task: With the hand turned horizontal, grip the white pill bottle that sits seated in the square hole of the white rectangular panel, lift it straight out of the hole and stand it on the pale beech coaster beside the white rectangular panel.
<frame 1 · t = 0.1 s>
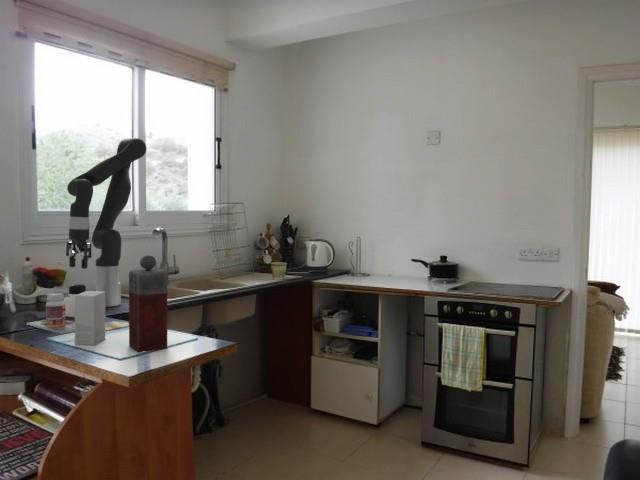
hand: (78, 267, 213), 17 cm above the table, tool pointing down, fingers open, 8 cm apart
ceramic cup: (279, 279, 323), on the table
skincare box: (90, 342, 163), on the table
pill bottle: (56, 326, 184), resting in white rectangular panel
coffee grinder: (146, 346, 159), on the table
medicine bottle: (77, 316, 203), on the table
coaster: (111, 326, 185), on the table
white rectangular panel: (56, 325, 184), on the table
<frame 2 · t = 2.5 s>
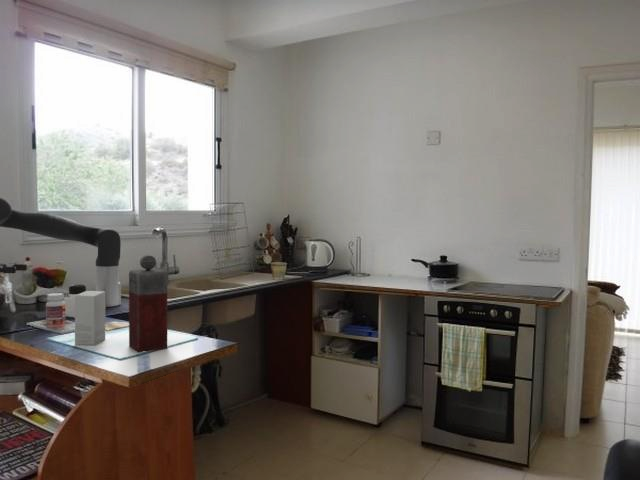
hand: (21, 268, 182), 20 cm above the table, tool horizontal, fingers open, 8 cm apart
nothing on the table moved.
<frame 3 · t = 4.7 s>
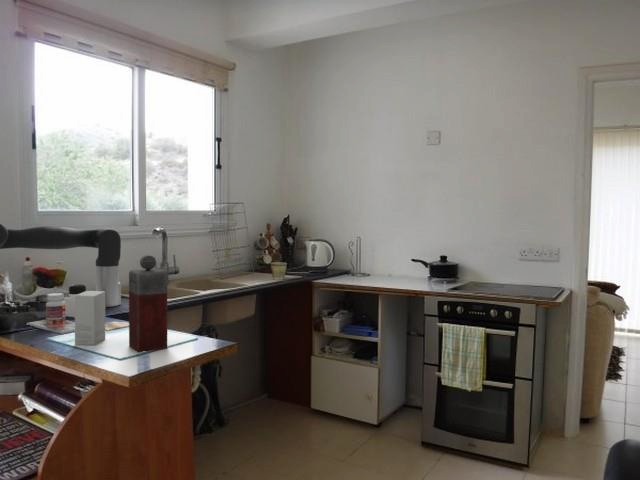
hand: (34, 306, 183), 7 cm above the table, tool horizontal, fingers open, 8 cm apart
nothing on the table moved.
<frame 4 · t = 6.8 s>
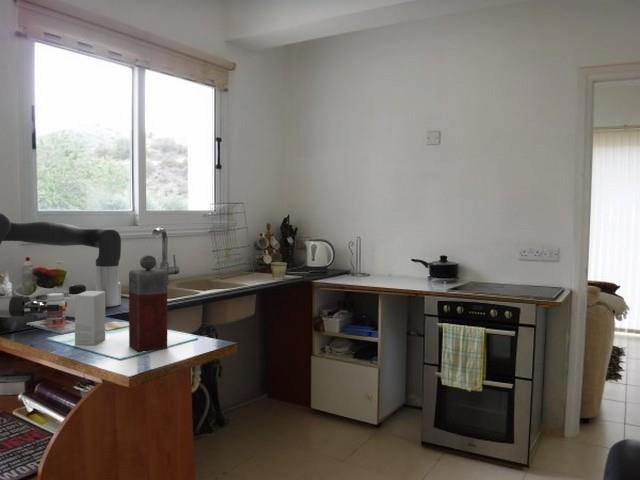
hand: (62, 306, 184), 7 cm above the table, tool horizontal, fingers closed on pill bottle, 6 cm apart
pill bottle: (56, 326, 184), resting in white rectangular panel, touching gripper
everything else where it was.
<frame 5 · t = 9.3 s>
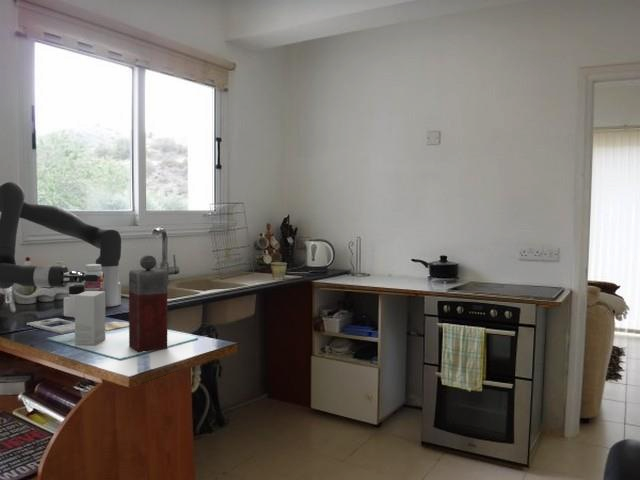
hand: (100, 276, 184), 18 cm above the table, tool horizontal, fingers closed on pill bottle, 6 cm apart
pill bottle: (93, 297, 184), point 10 cm above the table, touching gripper
everything else where it was.
when the fingers open (8 cm above the table, at t = 12.1 s): pill bottle stays where it is, resting on coaster.
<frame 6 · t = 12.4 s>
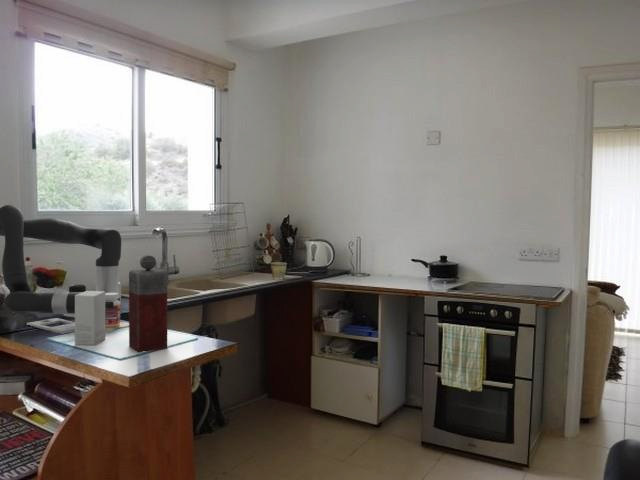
hand: (116, 302, 184), 8 cm above the table, tool horizontal, fingers open, 8 cm apart
pill bottle: (110, 325, 185), resting on coaster
everything else where it was.
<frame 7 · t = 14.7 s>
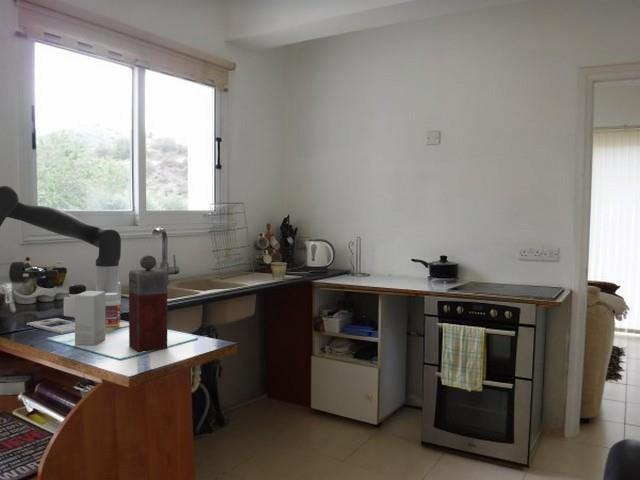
hand: (62, 271, 183), 19 cm above the table, tool horizontal, fingers open, 8 cm apart
nothing on the table moved.
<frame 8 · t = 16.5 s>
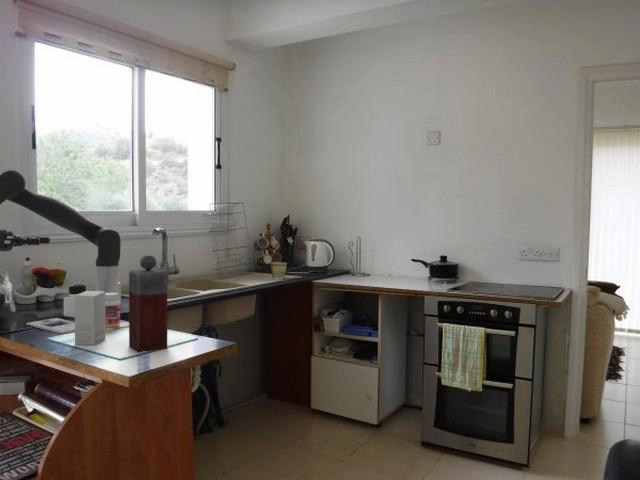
hand: (44, 241, 183), 30 cm above the table, tool horizontal, fingers open, 8 cm apart
nothing on the table moved.
at the end: pill bottle inside the target area on the coaster (0.1 cm from its centre), point 0.2 cm above the coaster's base; pill bottle tilted 0°; the gripper is holding nothing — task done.
